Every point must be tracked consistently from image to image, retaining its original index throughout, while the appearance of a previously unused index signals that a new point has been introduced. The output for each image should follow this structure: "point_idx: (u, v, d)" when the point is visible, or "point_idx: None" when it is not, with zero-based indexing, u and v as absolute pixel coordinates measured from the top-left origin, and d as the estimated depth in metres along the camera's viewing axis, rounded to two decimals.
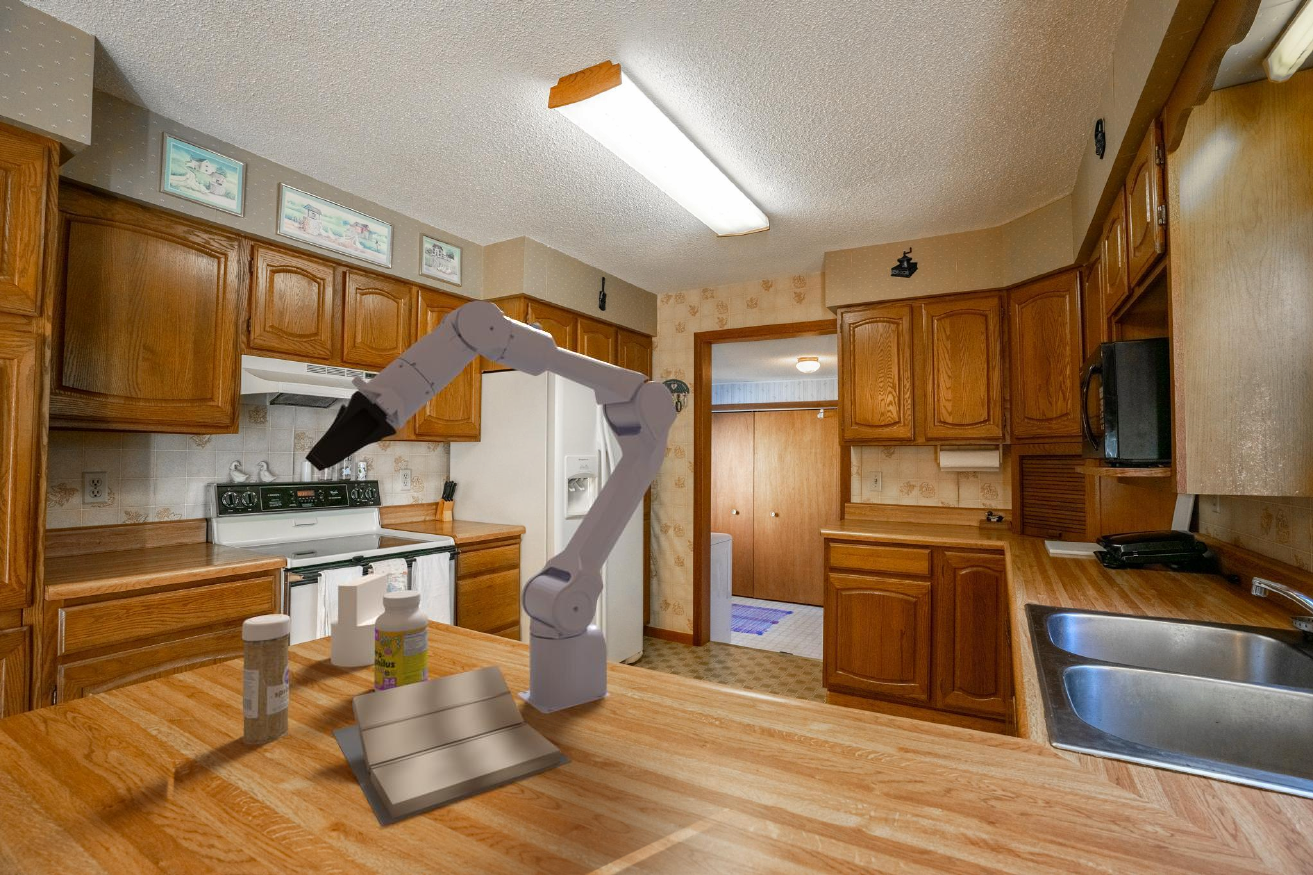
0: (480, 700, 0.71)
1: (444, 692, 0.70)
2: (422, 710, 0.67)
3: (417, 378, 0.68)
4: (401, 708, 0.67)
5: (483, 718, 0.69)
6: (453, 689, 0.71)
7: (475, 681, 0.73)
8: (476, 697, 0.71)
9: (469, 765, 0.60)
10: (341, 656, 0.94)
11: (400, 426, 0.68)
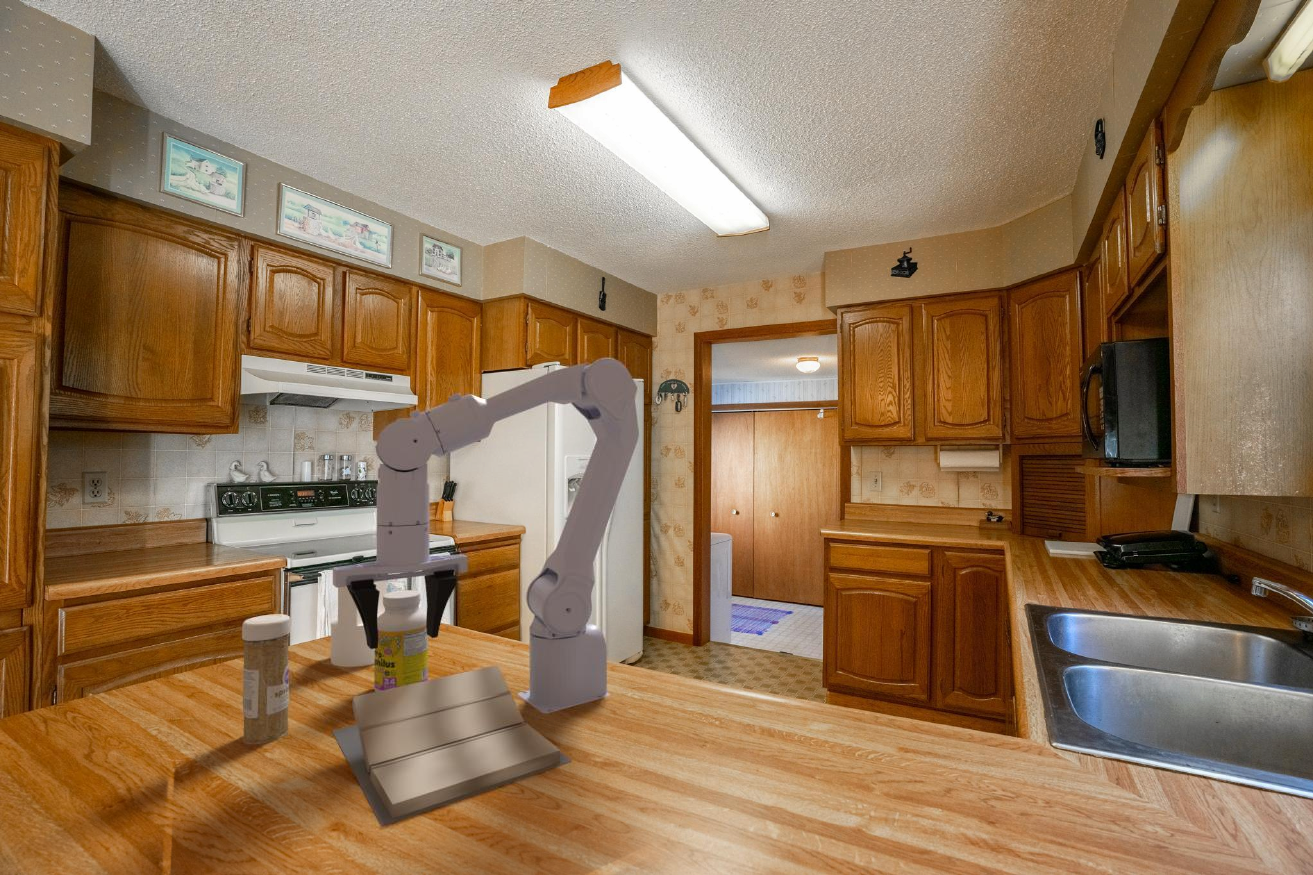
0: (480, 700, 0.71)
1: (444, 692, 0.70)
2: (422, 710, 0.67)
3: (377, 530, 0.71)
4: (401, 708, 0.67)
5: (483, 718, 0.69)
6: (453, 689, 0.71)
7: (475, 681, 0.73)
8: (476, 697, 0.71)
9: (469, 765, 0.60)
10: (341, 656, 0.94)
11: (400, 572, 0.70)
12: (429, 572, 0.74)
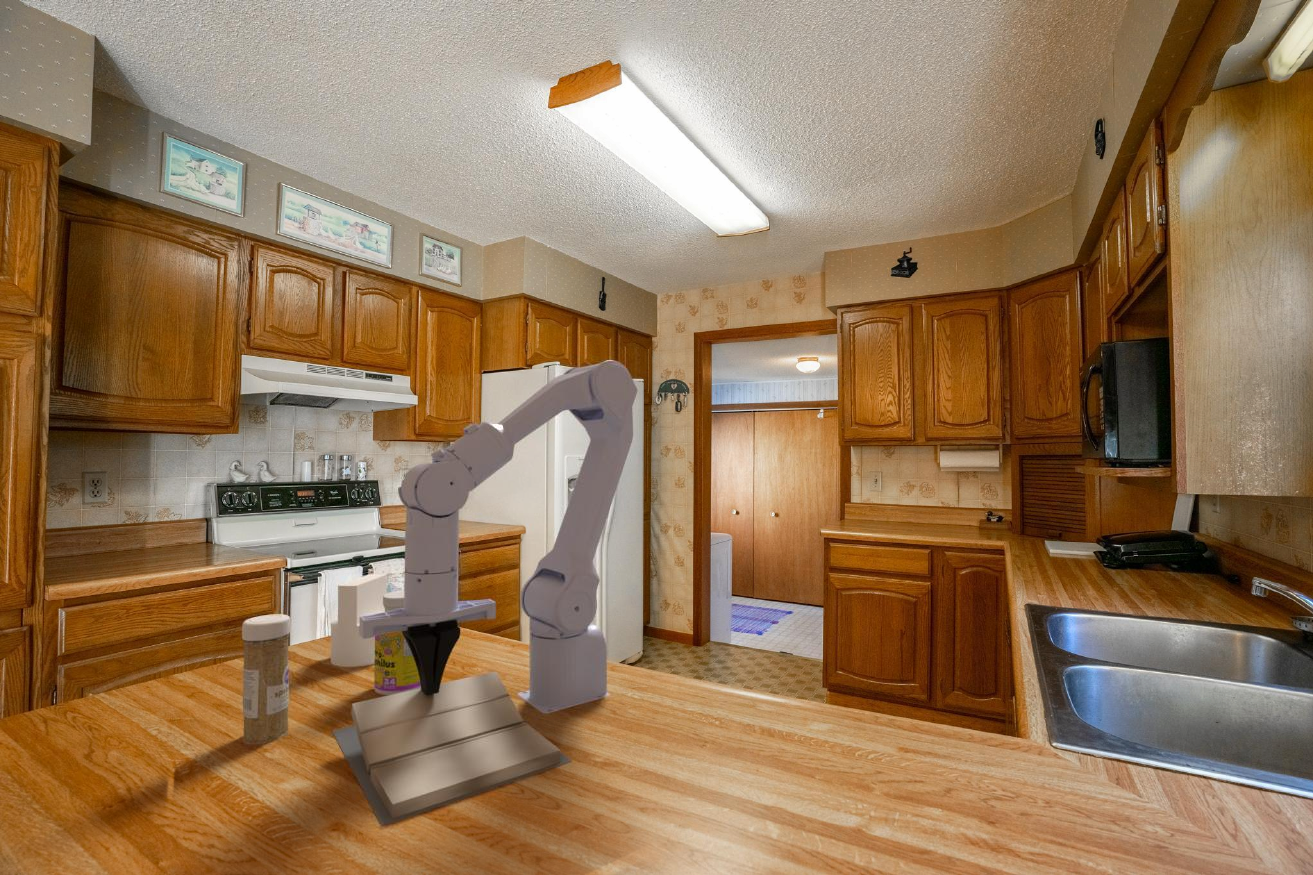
0: (479, 703, 0.71)
1: (443, 697, 0.70)
2: (421, 714, 0.68)
3: (405, 577, 0.69)
4: (400, 712, 0.67)
5: (482, 719, 0.69)
6: (451, 694, 0.71)
7: (473, 686, 0.73)
8: (475, 700, 0.71)
9: (469, 765, 0.60)
10: (341, 656, 0.94)
11: (429, 622, 0.68)
12: (457, 619, 0.72)
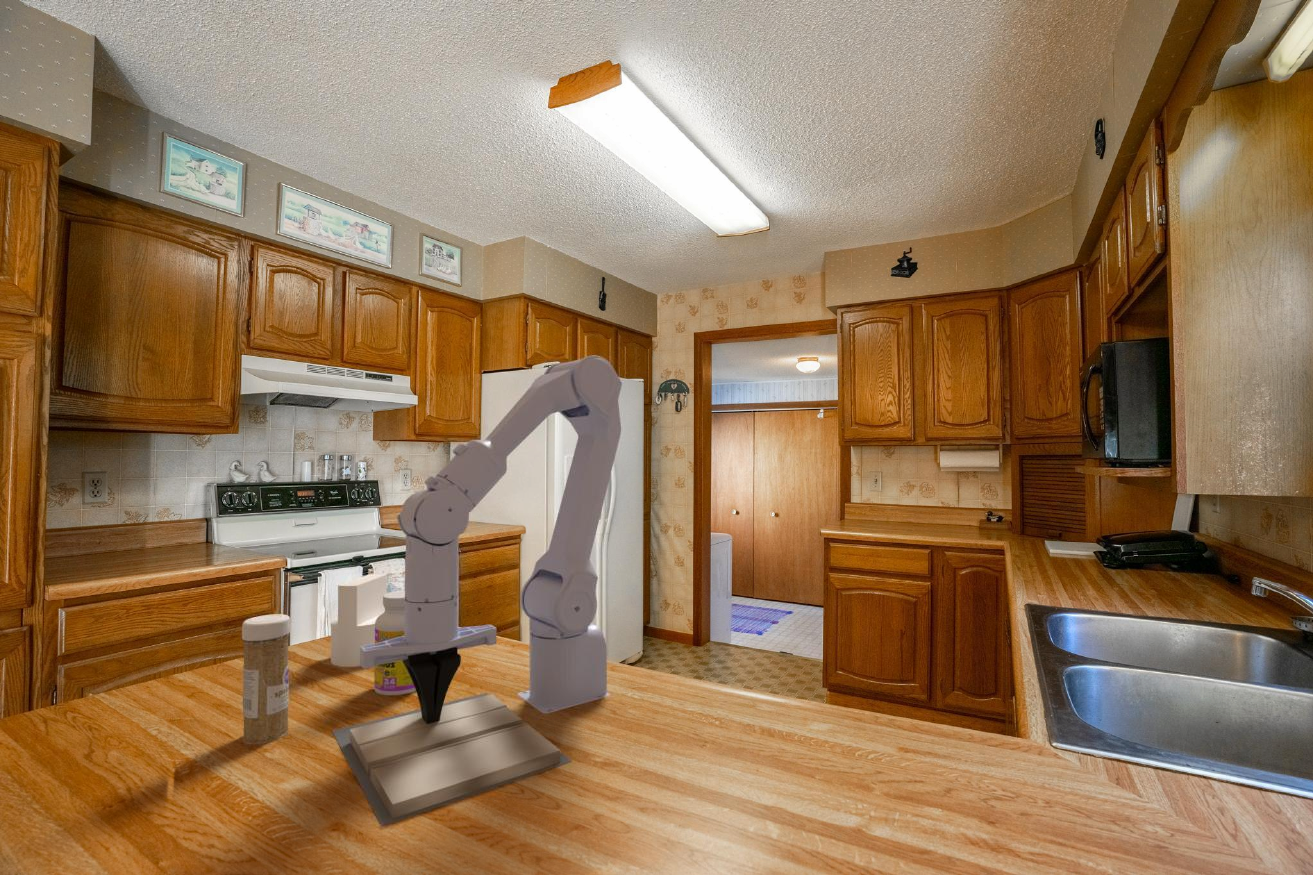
0: (476, 714, 0.71)
1: None
2: (419, 727, 0.68)
3: (406, 606, 0.69)
4: (397, 729, 0.68)
5: (480, 723, 0.69)
6: (449, 712, 0.72)
7: (470, 705, 0.74)
8: (472, 713, 0.72)
9: (469, 765, 0.60)
10: (341, 656, 0.94)
11: (429, 651, 0.68)
12: (458, 646, 0.72)
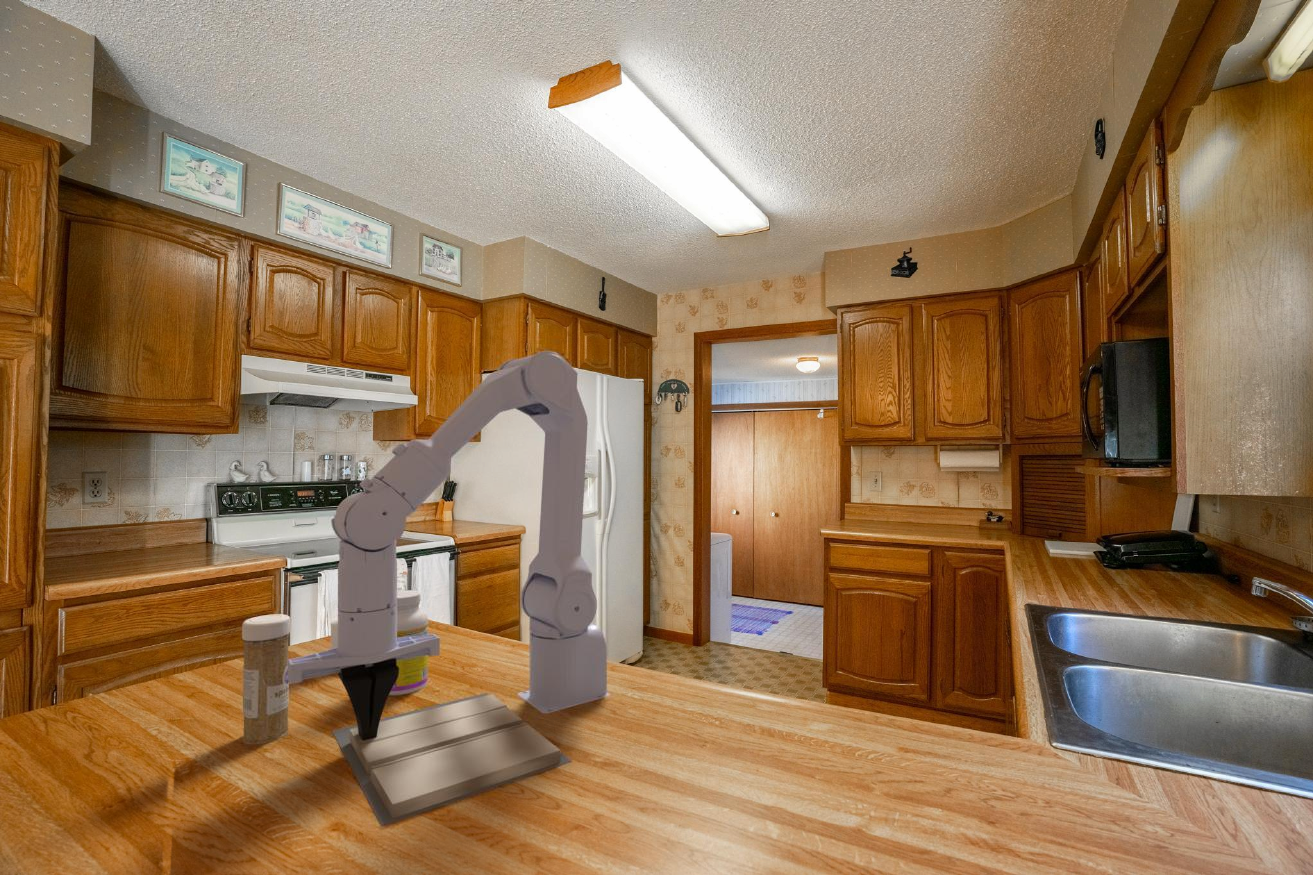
0: (476, 714, 0.71)
1: (440, 715, 0.71)
2: (419, 727, 0.68)
3: (338, 616, 0.65)
4: (397, 729, 0.68)
5: (480, 723, 0.69)
6: (449, 712, 0.72)
7: (470, 705, 0.74)
8: (472, 713, 0.72)
9: (469, 765, 0.60)
10: None
11: (363, 663, 0.64)
12: (397, 658, 0.68)
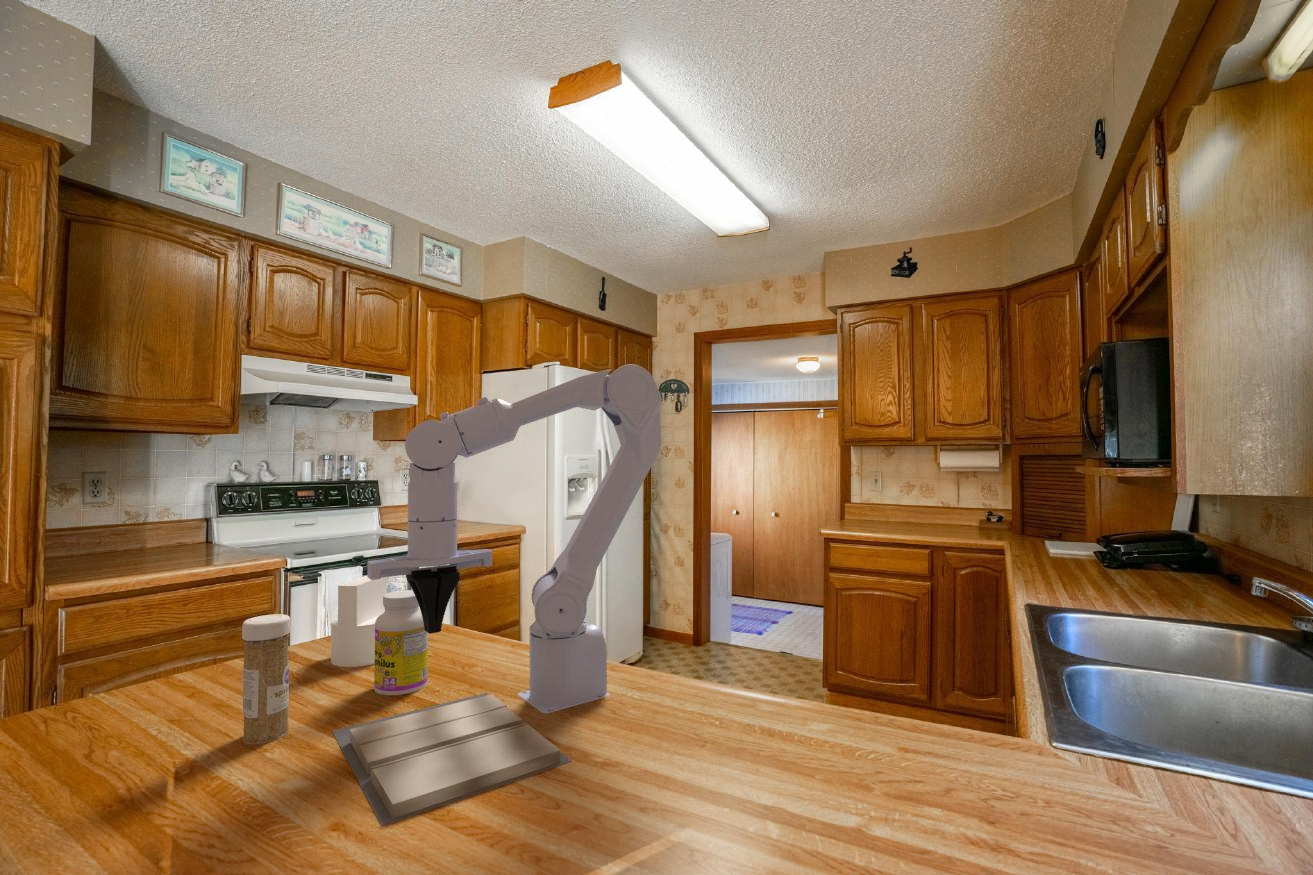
0: (476, 714, 0.71)
1: (440, 715, 0.71)
2: (419, 727, 0.68)
3: (409, 526, 0.75)
4: (397, 729, 0.68)
5: (480, 723, 0.69)
6: (449, 712, 0.72)
7: (470, 705, 0.74)
8: (472, 713, 0.72)
9: (469, 765, 0.60)
10: (341, 656, 0.94)
11: (431, 565, 0.74)
12: (457, 566, 0.78)
